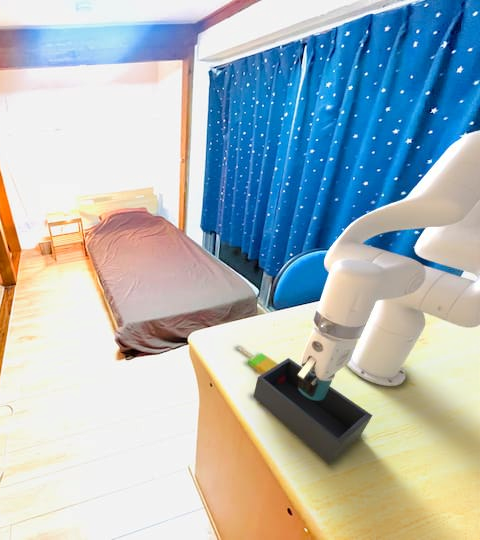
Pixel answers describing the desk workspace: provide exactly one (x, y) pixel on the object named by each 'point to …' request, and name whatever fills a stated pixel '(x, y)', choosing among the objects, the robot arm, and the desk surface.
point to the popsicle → (261, 363)
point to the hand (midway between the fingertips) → (313, 385)
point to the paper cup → (319, 388)
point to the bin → (311, 412)
